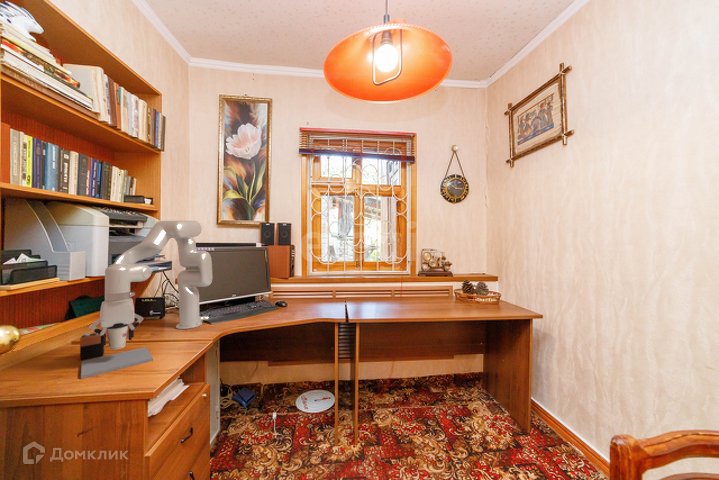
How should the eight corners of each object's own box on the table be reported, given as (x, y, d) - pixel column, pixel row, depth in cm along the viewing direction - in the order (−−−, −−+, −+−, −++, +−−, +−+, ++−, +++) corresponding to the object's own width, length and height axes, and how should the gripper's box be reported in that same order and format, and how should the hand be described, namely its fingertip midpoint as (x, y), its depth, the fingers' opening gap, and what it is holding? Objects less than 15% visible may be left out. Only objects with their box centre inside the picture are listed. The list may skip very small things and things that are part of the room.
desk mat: (146, 349, 119) (146, 346, 119) (152, 360, 108) (152, 357, 108) (81, 363, 105) (81, 361, 105) (80, 378, 94) (80, 375, 94)
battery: (81, 357, 111) (81, 333, 111) (104, 352, 115) (104, 329, 115) (79, 361, 107) (79, 336, 107) (103, 356, 112) (103, 332, 112)
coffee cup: (102, 352, 102) (103, 326, 102) (108, 346, 108) (108, 321, 108) (126, 348, 105) (127, 323, 105) (130, 342, 111) (131, 318, 111)
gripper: (144, 292, 115) (144, 334, 115) (86, 299, 103) (86, 345, 103) (146, 295, 110) (146, 338, 110) (86, 302, 98) (86, 351, 98)
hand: (117, 341), depth 106 cm, fingers closed on coffee cup, 7 cm apart
